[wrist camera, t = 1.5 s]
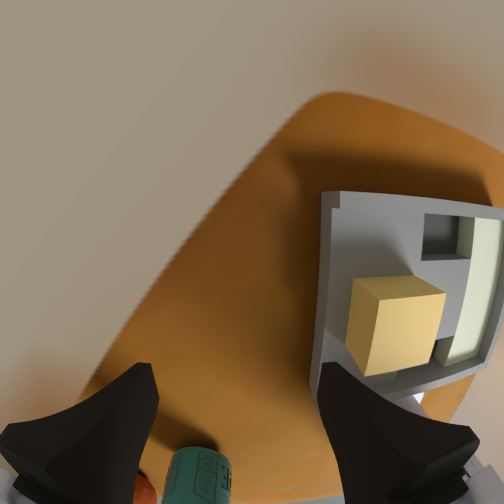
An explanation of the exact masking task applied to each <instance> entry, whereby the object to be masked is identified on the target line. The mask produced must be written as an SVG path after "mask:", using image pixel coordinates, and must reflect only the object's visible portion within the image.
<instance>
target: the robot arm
mask: <svg viewBox="0 0 504 504" xmlns="http://www.w3.org/2000/svg"><path fill="white" fill-rule="evenodd" d="M423 395H424V392H422V393H418V394H415V395H412V396H408V397H405V398H401V399H397V400H393V401H388V400H386V399H385V398H383V397H382V396H380V395H379V394H377V393H376V392H374V391H373V390H371V389H370V388H368V387H367V386H366V385H364V384H363V383H362V382H361V381H359V380H358V379H357V378H356V377H354V376H353V375H352V374H351V373H349V372H348V371H347V370H346V369H345V368H343V367H342V366H341V365H340V364H339V363H337V362H336V361H334V362H325V363H322V367H321V373H320V379H319V385H318V391H317V397H316V398H317V403H318V408H319V412H320V416H321V419H322V422H323V425H324V427H325V430H326V433H327V435H328V438H329V441H330V443H331V446H332V449H333V451H334V454H335V457H336V460H337V464H338V468H339V473H340V477H341V482H342V487H343V492H344V498H345V504H504V483H503V482H502V480H501V479H500V477H499V476H498V475H497V473H496V472H495V470H494V469H493V468H492V466H491V465H487V466H486V467H483V465H482V464H481V462H480V461H479V460H478V458H477V457H476V456H475V454H474V453H475V452H476V450H477V448H478V446H479V443H480V440H479V438H478V437H477V436H476V434H475V433H474V432H473V431H472V429H470V427H469V426H463V425H456V424H449V423H444V422H440V421H436V420H432V419H430V417H429V416H428V415H427V413H426V412H425V411H424V409H423V408H422V406H421V405H420V402H421V399H422V397H423ZM158 402H159V395H158V391H157V387H156V383H155V379H154V375H153V371H152V367H151V364H150V363H140V362H138V363H136V364H135V365H133V366H132V367H131V368H129V369H128V370H127V371H126V372H124V373H123V374H122V375H120V376H119V377H118V378H117V379H115V380H114V381H113V382H111V383H110V384H109V385H107V386H106V387H104V388H103V389H101V390H100V391H98V392H97V393H96V394H94V395H93V396H91V397H89V398H88V399H86V400H84V401H83V402H81V403H79V404H77V405H75V406H73V407H71V408H69V409H66V410H64V411H61V412H59V413H56V414H53V415H51V416H47V417H44V418H41V419H36V420H32V421H27V422H19V423H11V424H8V425H7V427H6V428H5V429H4V430H3V432H2V433H1V434H0V453H1V454H2V456H3V457H4V458H5V459H6V461H7V462H8V463H9V464H10V465H11V466H12V467H13V468H14V469H15V471H16V472H17V473H18V474H19V475H18V477H17V479H16V478H15V477H14V476H13V475H12V474H10V473H9V472H8V471H6V470H5V469H3V468H2V467H1V466H0V504H133V498H134V490H135V484H136V477H137V472H138V467H139V462H140V459H141V455H142V452H143V450H144V447H145V444H146V441H147V439H148V436H149V433H150V431H151V428H152V425H153V422H154V419H155V417H156V412H157V408H158Z"/></svg>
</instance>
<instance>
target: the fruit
mask: <svg viewBox="0 0 504 504" xmlns="http://www.w3.org/2000/svg"><path fill="white" fill-rule="evenodd" d="M156 502H157V494H156V491H155V489H154V488H153V486H152V485H151V483H150V482H149V481H148V480H147V479H146V478H144V477H143V476H142V475H140V474H138V473H137V477H136V484H135V490H134V498H133V504H156Z"/></svg>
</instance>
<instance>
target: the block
mask: <svg viewBox="0 0 504 504" xmlns="http://www.w3.org/2000/svg"><path fill="white" fill-rule="evenodd" d="M445 298H446V292H444V291H442V290H440V289H439V288H437V287H435V286H433V285H431V284H430V283H428V282H426V281H424V280H422V279H420V278H419V277H417V276H415V275H404V276H387V277H368V278H353V285H352V295H351V304H350V312H349V319H348V327H347V333H346V340H345V346H346V347H347V349H348V351H349V352H350V354H351V355H352V357H353V359H354V360H355V362H356V364H357V365H358V367H359V369H360V370H361V372H362V373H363V375H364V377H365V376H371V375H376V374H382V373H387V372H392V371H396V370H401V369H405V368H410V367H414V366H418V365H422V364H426V363H428V362H429V359H430V356H431V353H432V349H433V346H434V343H435V339H436V336H437V332H438V328H439V324H440V320H441V316H442V312H443V308H444V303H445Z"/></svg>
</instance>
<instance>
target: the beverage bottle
mask: <svg viewBox="0 0 504 504" xmlns="http://www.w3.org/2000/svg"><path fill="white" fill-rule="evenodd" d="M170 462H171V460H170ZM169 466H170V469H168V472H169V475H168V473H167V476H168V479H167V477H166V480H167V484H166V482H165V485H166V488H165V491H163V492H165V493H164V494H163V495H164V498H163V502H162V504H229V496H230V487H231V482H232V477H231V479H230V476H231V475H232V474H231V472H230V469H231V468H230V463H229V461H228V459H227V458H226V457H225V456H224V455H223V454H221V453H219V452H217V451H214V450H211V449H208V448H203V447H185V448H181V449H179V450H178V451H177V452H176V453H175V454H174V456H173V458H172V462H171V465H169ZM169 470H170V471H169ZM164 487H165V486H164ZM163 495H162V497H163ZM230 502H231V501H230Z"/></svg>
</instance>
